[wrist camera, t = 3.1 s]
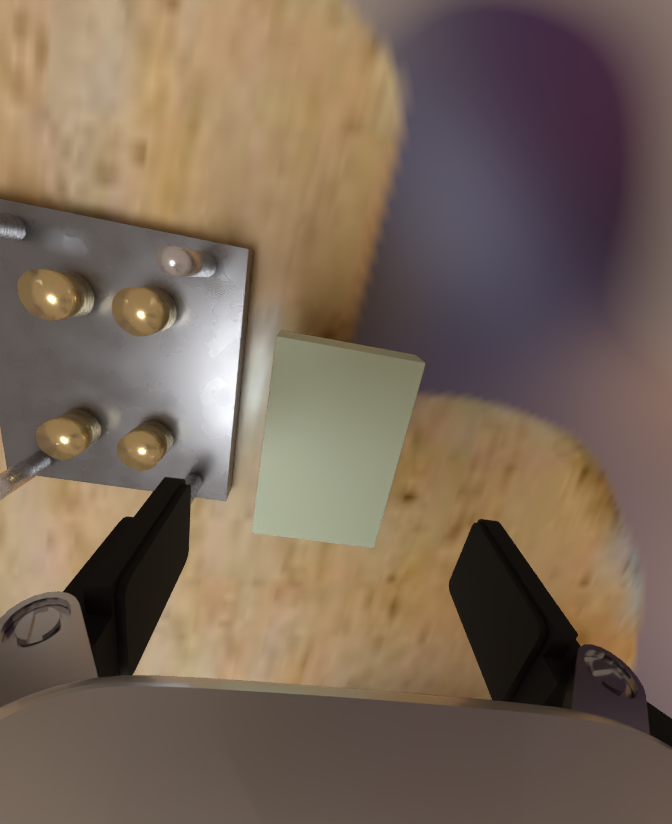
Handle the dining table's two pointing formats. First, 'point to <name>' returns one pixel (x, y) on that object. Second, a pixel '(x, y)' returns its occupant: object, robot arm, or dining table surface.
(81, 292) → the chassis
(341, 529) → the board
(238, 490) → the dining table surface
